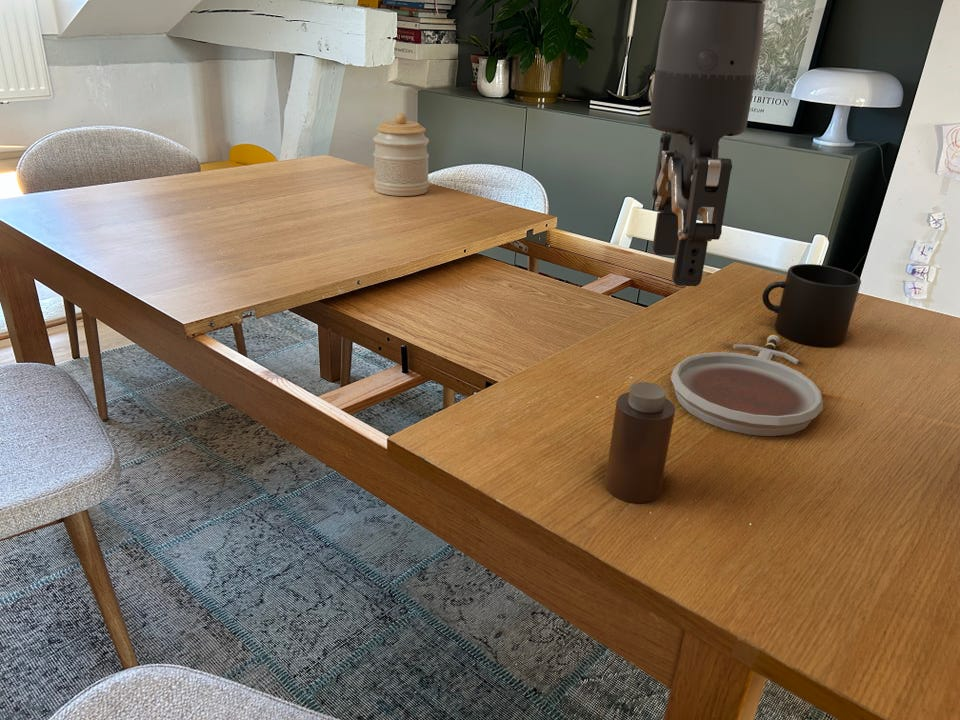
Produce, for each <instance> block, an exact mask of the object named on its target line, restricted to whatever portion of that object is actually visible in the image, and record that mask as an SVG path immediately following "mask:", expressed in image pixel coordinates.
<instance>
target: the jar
mask: <svg viewBox="0 0 960 720" xmlns="http://www.w3.org/2000/svg"><path fill="white" fill-rule="evenodd" d="M375 129H376V131H377V134H376V135H374V136H373V138H372V141H373V142H374V145H375V147H374V151H373V153H372V155H373V175H374V176H373V187H374V190H375V192H377V193H379V194H383V195H387V196H394V197H395V196H396V197H413V196H419V195H423V194H426V193H427V192H428V190H429V186H430V184H429V182H430V180H429V158H430V154H429V152H428V144H429V143H430V139H429V138H428V137H427V136H426V135H425V133H426V131H427V129H426V127H424V126H422V125H421V124H420V122H416V121H409V120H408V117H407V114H406V113H404V112H398V113H397V114H396V115H395V119H394V120H387V121H383V122H382V123H381V124H380V125H378V126H377V127H376V128H375Z"/></svg>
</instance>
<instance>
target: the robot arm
mask: <svg viewBox="0 0 960 720" xmlns="http://www.w3.org/2000/svg"><path fill="white" fill-rule="evenodd" d="M766 1H767V0H667V4H666V9H665V14H664V17H663V21H662V25H661V29H660V34H659V40H658V48H657V55H656V64H655V70H654V71H655V72H654V79H653V87H652V93H651V103H650V111H649V118H648V123H649V124H650V126H651V128H652V129H654V130H656V131H659V132H662V134H661V137H660V138H659V149H658V155H657V163H656V170H655V177H654V183H653V188H652V191H651V196H652V200H655V201H654V207H655V211H656V212H657V213H656V220H655V227H654V234H653V242H652V251H653V253H654V254H655V255H657V256H674V262H673V269H672V273H671V274H672V275H671V280H672V281H673V283H674V284H675V285H676V286H681V287H697V286H699V285H700V284H701V283H702V278H703V273H704V266H705V262H706V256H707V250H708V245H709V242H712V240H713V241H714V240H716V241H717V240H720V239H721V235H722V233H723V231H722V229H723V222H724V216H725V210H726V206H727V205H726V204H727V197H728V192H729V186H730V180H731V173H732V169H733V163H732V159H731V158H726V157H725V158H723V157H719V151H720V140H721V139H722V138H723V137H735V136H739V135H741V134H743V133H744V132H745V131H746V129H747V126H748V120H749V114H750V109H751V103H752V98H753V93H754V87H755V82H756V77H757V72H758V65H759V61H760V55H761V50H762V43H763V36H764V21H765V20H764V19H765V9H766V4H765V3H766ZM698 216H701V217H702V222H697V220H698Z"/></svg>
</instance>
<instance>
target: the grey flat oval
mask: <svg viewBox="0 0 960 720" xmlns="http://www.w3.org/2000/svg"><path fill="white" fill-rule="evenodd" d="M780 344H781V338H780V337H779V336H778V335H776V334H770V335H769V336H768V337H767V338H766V344H765V347H763V346H756V345H753V344H738V343H734V344H733V347H732V348H733V350H734V349H735V350H752V351H756V352H759V353H758V354H757V356H756V355H751V354H745V353H740V352H726V351H725V352H724V351H715V352H704V353H703V352H701V353H698V354H694V355H691V356H688V357H686V358H684V359H683V360H681V361H680V362H679V363H677V365H676V366H675V367H674V368H673V370H672V372H671V376H670V380H671V382H672V385H673V388H674V393H675V397H676V399H677V402H678V403H679V404H680V405H681V406H682V407H683V408H684V409H685V410H686V411H687V412H688V413H690V414H691V415H693V416H694V417H696V418H698V419H700V420H701V421H703V422H705V423H707V424H710V425H712V426H714V427H717V428H720V429H723V430H725V431H729V432H735V433H739V434H744V435H748V436H758V437H759V436H760V437H761V436H762V437H780V436H788V435H793V434H795V433H798V432H800V431H802V430H805V429H806V428H807V427H808V426H809V425H810V423H811V422H812V421H813V420H814V419H816V418H817V417H818V416H819V414H820V413H821V412H822V411H823V409H824V399H823V395H822V392H821V390H820V389H819V387H818V386H817V385H816V384H815V383H814V381H813V380H811V379H810V378H809V377H807V376H806V375H804V374H803V373H802V372H800V371H798V370H797V369H794V368H792V367H789V366H788V365H785V364H783V363H781V362H778V361H774V360H772V359H773V356H777V357H781V358H784V359H786V360H788V361H789V362H791V363H794V364H795V365H798V364H799V361H800V359H797V358H796V357H794V356H792V355H790V354H788V353H786V352H783V351H779V350H775V349H776V347H778V346H779V345H780Z"/></svg>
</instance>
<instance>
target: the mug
mask: <svg viewBox="0 0 960 720" xmlns="http://www.w3.org/2000/svg"><path fill="white" fill-rule="evenodd" d="M861 284H862V280H861V277H859V276H858V275H856V274H854V273H853V272H850V271H847V270H845V269H842V268H838V267H835V266H830V265H824V264H814V263H802V264H795V265H794V264H793V265H791V266H789V268H788V269H787V273H786V276H785V280H781V281H774V282H772V283H770V284H768V285H767V286H766V287H765V288H764V290H763V292H762V302H763V305H764V307H765V308H767V309H768V310H769V311H771V312H772V313H775V314H777V315H776V319H775V323H774V327H775V331H776V332H777V333H778V334H779V335H780V336H782V337H784V338H786V339H788V340H790V341H792V342H794V343H798V344H802V345H806V346H811V347H812V346H813V347H820V348H821V347H823V348H824V347H828V348H829V347H835V346H839V345H841V344H842V343H843V342H844V341H845V339H846V337H847V333H848V329H849V325H850V322H851V320H852V316H853V312H854V308H855V305H856V302H857V299H858V294H859V291H860V288H861ZM777 288H780V289H782V294H781V298H780V303H779V305H777V304H776V305H775V304H773V303H772V302H771V301H770V298H769V295H770V293H771V292H772V291H773V290H774V289H777Z"/></svg>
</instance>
